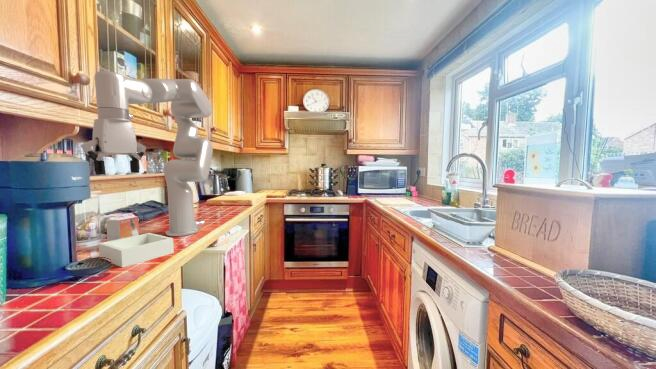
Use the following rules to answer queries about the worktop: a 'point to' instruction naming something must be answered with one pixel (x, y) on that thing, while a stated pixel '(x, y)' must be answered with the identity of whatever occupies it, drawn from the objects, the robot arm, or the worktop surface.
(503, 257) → the worktop surface
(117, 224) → the small box
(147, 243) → the storage bin
